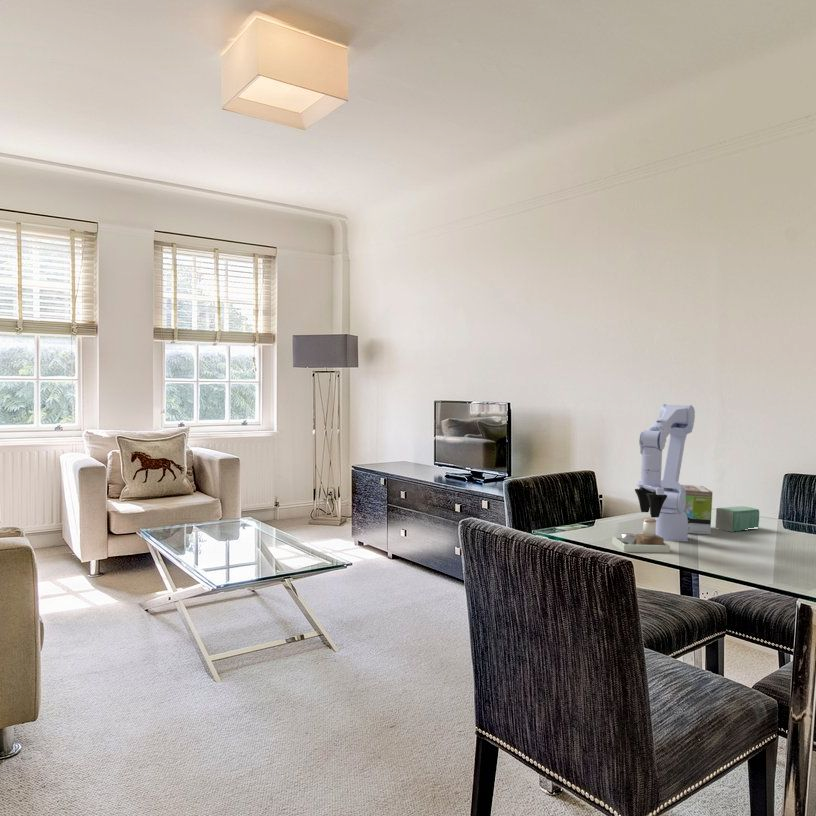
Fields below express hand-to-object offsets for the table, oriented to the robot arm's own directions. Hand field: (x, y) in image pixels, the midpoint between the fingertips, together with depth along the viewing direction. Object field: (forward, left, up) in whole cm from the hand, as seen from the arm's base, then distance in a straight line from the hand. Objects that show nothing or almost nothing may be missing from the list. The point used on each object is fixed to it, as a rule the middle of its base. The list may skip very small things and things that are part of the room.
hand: (649, 514), depth 205 cm
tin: (+6, +1, -10) cm, 12 cm away
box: (-44, -31, -11) cm, 54 cm away
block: (0, +1, -10) cm, 10 cm away
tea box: (-26, -28, -11) cm, 40 cm away
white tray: (+3, +1, -10) cm, 11 cm away
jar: (0, 0, -6) cm, 7 cm away
